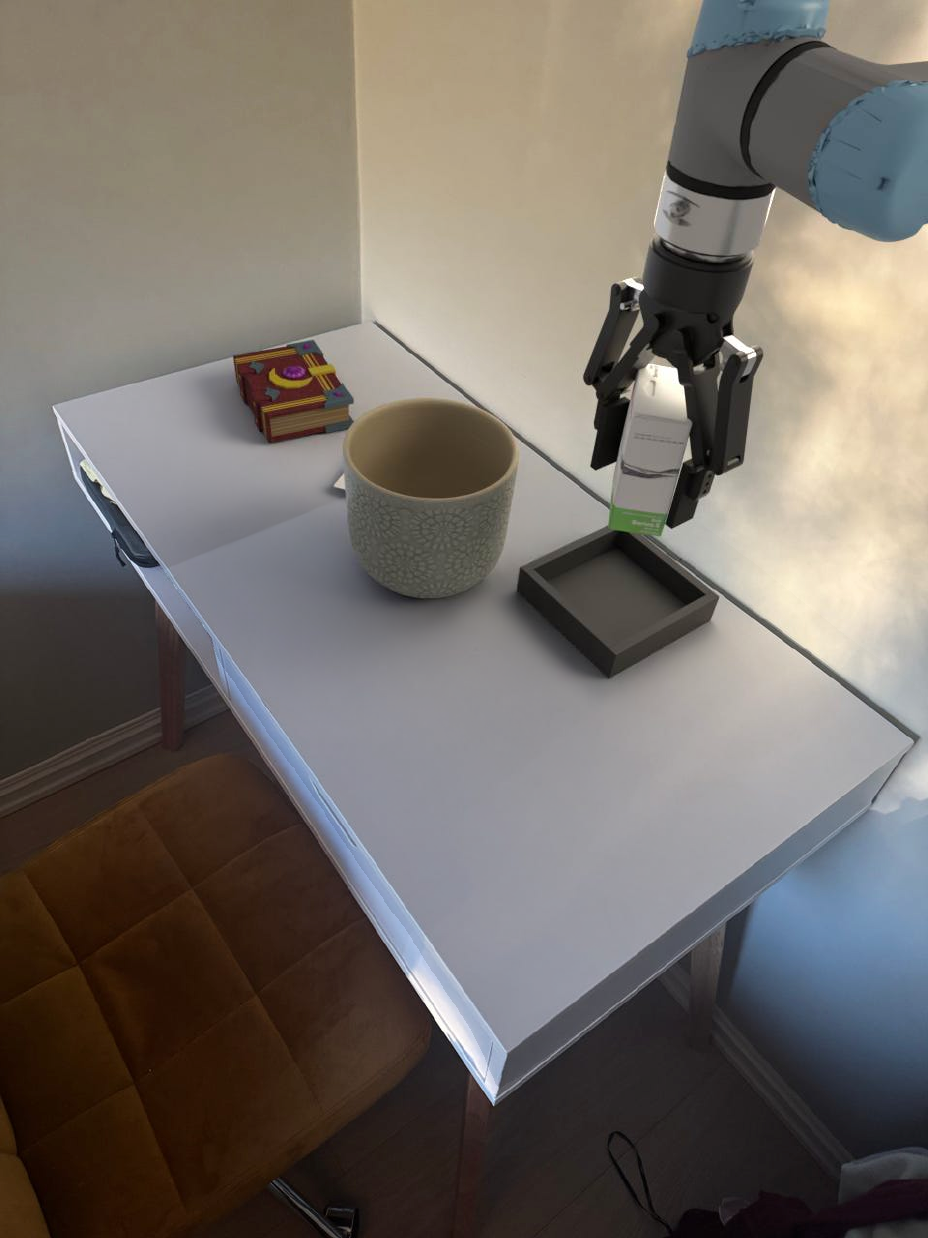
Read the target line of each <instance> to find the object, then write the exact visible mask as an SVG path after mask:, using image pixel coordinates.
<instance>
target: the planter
mask: <svg viewBox="0 0 928 1238" xmlns="http://www.w3.org/2000/svg"><path fill="white" fill-rule="evenodd" d="M519 459H520V450H519V445H518V441H517V439H516V437H515V434H514V433H513V432H512V431H511V429H510V428H509V427H508V426H507V425H506V424H505V423H504V422H503V421H502V420H500V419H499V418H498V417H496V416H495V415H493V414H491V413H490V412H488V411H486V410H484V409H482V408H480V407H478V406H474V405H472V404H469V403H466V402H462V401H458V400H453V399H448V398H439V397H438V398H437V397H414V398H404V399H399V400H394V401H390V402H386V403H384V404H381V405H378V406H376V407H373V408H372V409H370V410H368V411H366V412H365V413H363V414H361V415H360V416H358V417H357V418H356V419H355V421H354V423H353V424H352V425H351V426H350V427H349V428H347V429H346V431H345V435H344V437H343V441H342V465H343V466H342V467H343V474H344V481H345V490H344V491H345V497H346V498H345V500H346V512H347V524H348V531H349V537H350V544H351V547H352V550H353V553H354V555H355V557H356V559H357V561H358V563H359V565H360V566H361V568H362V569H363V570H364V571H365V572H366V573H367V575H368V576H370V577H371V578H372V579H373V580H374V581H375V582H377V583H378V584H379V585H381V586H383V587H384V588H387V589H388V590H391V591H393V592H395V593H397V594H400V595H404V596H407V597H412V598H418V599H439V598H445V597H451V596H454V595H457V594H461V593H463V592H465V591H467V590H469V589H471V588H473V587H475V586H477V585H478V584H479V583H481V582H482V581H483V579H485V578H486V577H487V576H489V574H490V573H491V572H492V570H493V569H494V568H495V566H496V565H497V562H498V561H499V559H500V557H501V554H502V552H503V549H504V546H505V542H506V539H507V534H508V528H509V521H510V516H511V509H512V504H513V499H514V493H515V487H516V482H517V474H518V468H519V461H520V460H519Z"/></svg>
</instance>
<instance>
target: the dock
mask: <svg viewBox="0 0 928 1238" xmlns="http://www.w3.org/2000/svg"><path fill="white" fill-rule="evenodd" d="M516 592H517V593H518V594H519V596H520V597H522V598H523V599H524V600H525V601H526V602H527V603H528V604H529V605H530V606H531V607H533V609H535V610H536V611H537V612H538V614H540V615H541V616H542V617H543V618H544V619H545V620H547V622H549V623H550V625H552V627H554V628H555V629H556V630H557V631H558V632H559V633H560V634H561V635H562V636H563V637H564V638H565V639H566V640H568V641H569V642H570V643H571V645H573V646H574V647H575V648H576V649H577V650H578V651H579V652H580V653H581V654H582V655H583V656H584V657H586V659H588V660H589V661H590V662H591V663H592V665H594V666H595V667H596V668H597V669H598V670H599V671H600V672H601V673H603V674H604V676H606V678H608V679H612V678H613V677H615V676H617V675H618V674H620V673H622V672H623V671H624V672H625V671H626V670H627V669H629V668H631V667H632V666H634V665H636V664H638V663H640V662H641V661H643V660H644V659H646V658H649V657H650V656H652V655H654V654H655V653H657V652H659V651H660V650H663V649H664V648H665V647H667V646H669V645H670V644H672V643H674V642H676V641H677V640H679V639H681V638H683V637H685V636H687V635H688V634H690V633H691V632H693V631H695V630H696V629H699V628H700V627H703V626H704V625H706V624H707V623H709V622H711V621H712V618H713V616H714V613H715V610H716V607H717V605H718V602H719V599H720V595H718V594H717V593H716V592H715V591H713V590H712V589H710V587H708V586H707V585H705V584H704V583H703V582H702V581H700V580H699V579H698V578H697V577H696V576H695V575H693V574H692V573H690V572H689V571H688V570H687V569H685V568H684V567H683V566H682V565H681V564H680V563H678V562H677V561H676V560H674V559H673V558H671V556H670V555H668V554H666V552H664V551H663V550H662V549H660V548H659V547H658V546H657V545H655V543H653V542H652V541H650V540H649V539H648V538H647V537H646V536H644V534H638V533H633V532H625V531H619V530H612V529H610V528H609V527H608V525H605V526H604V527H601V528H599V529H597V530H596V531H593V532H591V533H589V534H587V535H584V536H583V537H581V538H577V539H576V540H575V541H572V542H570V543H568V544H566V545H563V546H561V547H559V548H558V549H555V550H553V551H551V552H549V553H546V554H545V555H543V556H541V557H538V558H536V559H534V560H532V561H530V562H527V563H526V564H523V565H521V566H520V567H519V572H518V577H517V586H516Z"/></svg>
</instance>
